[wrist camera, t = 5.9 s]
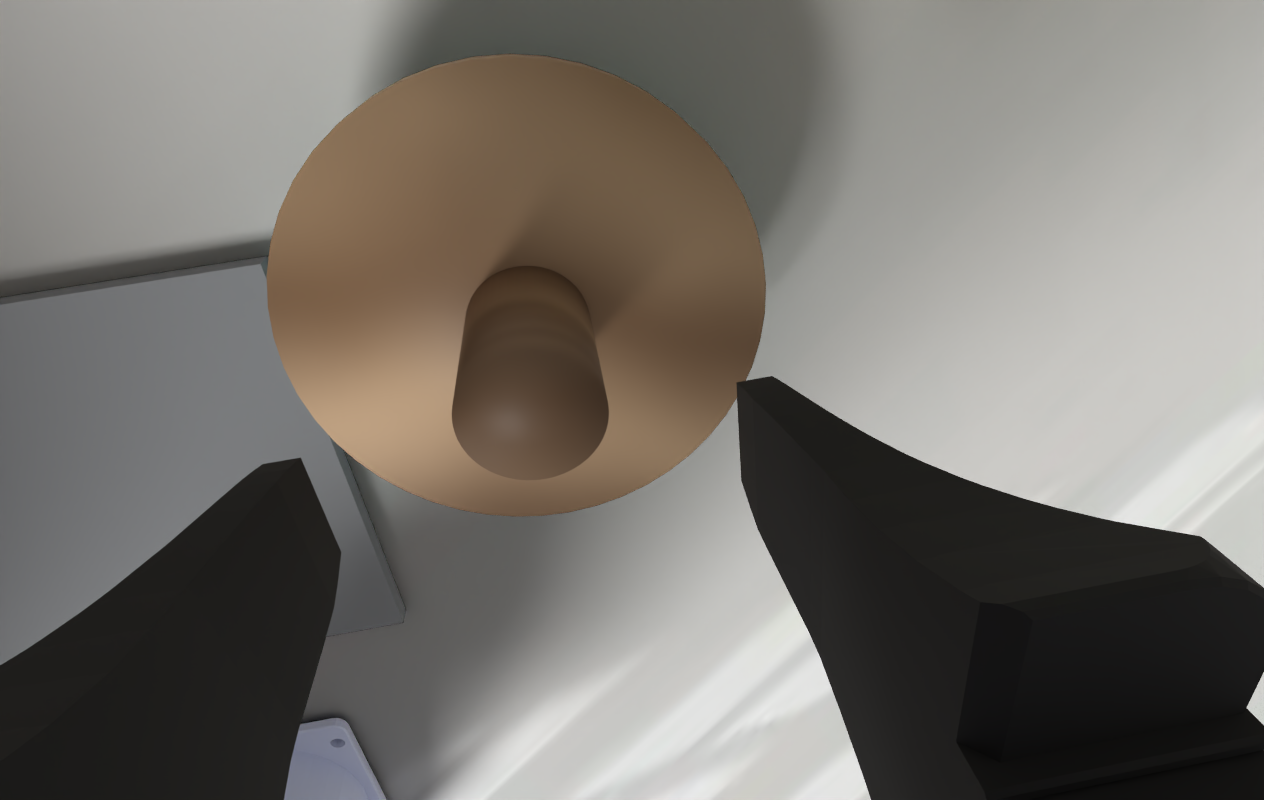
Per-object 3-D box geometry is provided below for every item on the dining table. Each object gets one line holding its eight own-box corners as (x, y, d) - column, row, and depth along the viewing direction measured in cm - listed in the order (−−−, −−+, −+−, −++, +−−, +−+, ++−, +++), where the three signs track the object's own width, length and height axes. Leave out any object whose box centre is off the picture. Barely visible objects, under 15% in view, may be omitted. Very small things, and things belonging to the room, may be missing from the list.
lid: (738, 481, 21) (792, 608, 17) (332, 513, 20) (283, 659, 15) (778, 50, 15) (874, 82, 11) (215, 56, 14) (90, 93, 10)
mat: (405, 609, 26) (403, 622, 25) (22, 679, 25) (12, 694, 25) (267, 255, 19) (260, 263, 19) (-262, 338, 18) (-284, 349, 18)
